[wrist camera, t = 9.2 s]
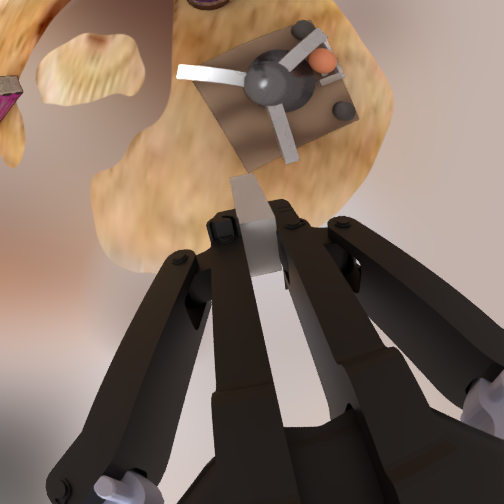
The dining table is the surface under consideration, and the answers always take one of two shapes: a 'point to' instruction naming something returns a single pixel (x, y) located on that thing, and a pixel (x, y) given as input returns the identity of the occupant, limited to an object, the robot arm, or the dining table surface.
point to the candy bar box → (8, 93)
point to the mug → (207, 4)
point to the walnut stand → (256, 118)
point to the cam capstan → (271, 85)
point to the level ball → (322, 60)
